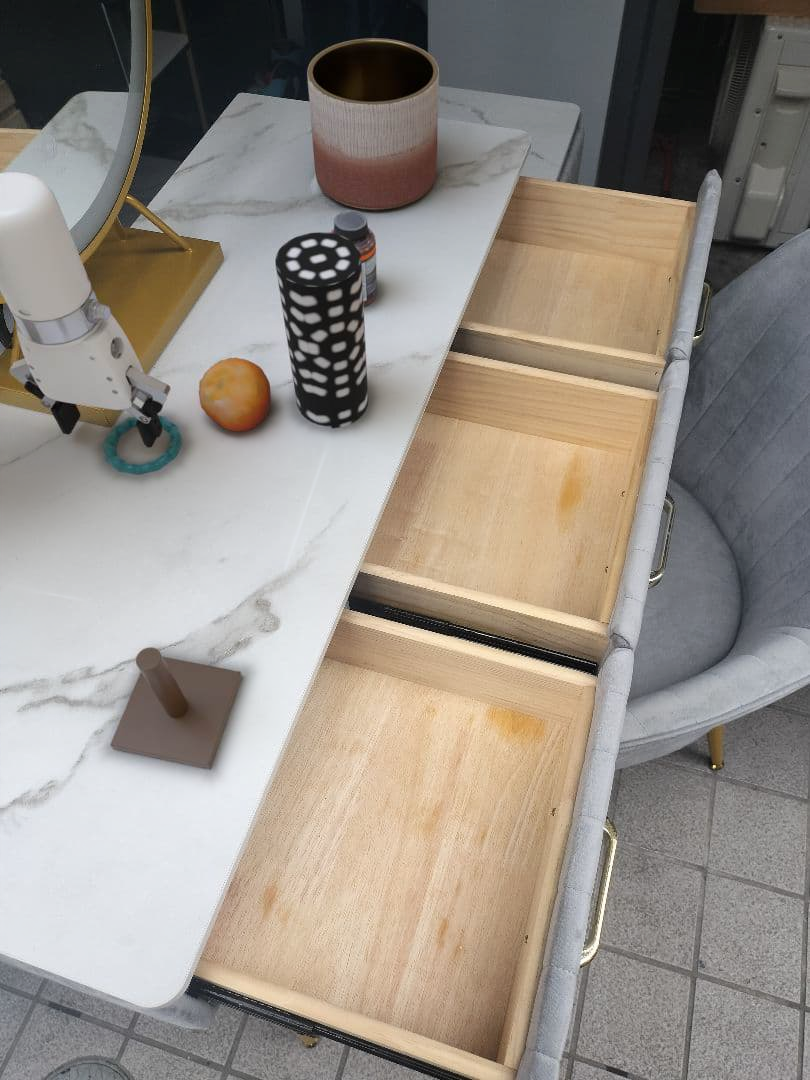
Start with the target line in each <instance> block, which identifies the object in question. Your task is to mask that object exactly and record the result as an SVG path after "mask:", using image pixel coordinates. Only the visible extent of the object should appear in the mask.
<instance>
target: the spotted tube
mask: <svg viewBox="0 0 810 1080" xmlns="http://www.w3.org/2000/svg"><path fill="white" fill-rule="evenodd" d="M274 259H275V260H274V261H275V270H276V276H277V283H278V291H279V295H280V302H281V309H282V316H283V322H284V328H285V335H286V341H287V347H288V354H289V362H290V368H291V375H292V381H293V387H294V388H293V389H294V393H295V401H296V406H297V409H298V412H299V413H300V414H301V416H303V417H304V418H305V419H306V420H307V421H309V422H310V423H313V424H315V425H317V426H323V427H331V429H338V428H343V427H346V426H349V425H351V424H354V423H355V422H357V421H358V420H359V419H360V418H362V417H363V415H364V414H365V412H366V411H367V409H368V406H369V389H368V388H369V387H368V368H367V349H366V330H365V329H366V327H365V307H364V305H363V285H362V264H361V254H360V251H359V249H358V247H357V246H356V245H355V244H354V243H353V242H352V241H350V240H349V239H347V238H345V237H343V236H340V235H337V234H333V233H330V232H322V231H320V232H319V231H317V232H310V233H309V232H308V233H304V234H300V235H297V236H295V237H293V238H291V239H289V240H288V241H287V242H285V243H283V244H282V246H281V247H280V248H278V250H277V253H276V255H275V258H274Z"/></svg>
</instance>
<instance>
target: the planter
mask: <svg viewBox="0 0 810 1080" xmlns="http://www.w3.org/2000/svg"><path fill="white" fill-rule="evenodd" d="M439 69H440V68H439V65H438V63H437V61H436V59H435V57H433V56H432V55H431V54H430V53H428V52H427V51H426V50H424V49H422V48H420V47H418V46H416V45H414V44H411V43H408V42H405V41H401V40H397V39H389V38H376V37H375V38H374V37H373V38H371V37H369V38H359V39H351V40H347V41H343V42H339V43H336V44H334V45H331V46H329V47H327V48H325V49H323V50H321V51H320V52H319V53H317V54H316V55H315V56H314V57H313V58H312V59H311V61H310V62H309V64H308V67H307V69H306V70H307V71H306V74H307V75H306V77H307V87H308V88H307V89H308V101H309V112H310V124H311V137H312V151H313V161H314V162H313V163H314V165H313V166H314V171H315V178H316V182H317V184H318V187H319V188H320V189H321V190H322V192H323V193H324V194H325V195H327V196H328V197H329V198H331V199H332V200H333V201H335V202H337V203H339V204H342V205H344V206H347V207H349V208H355V209H359V210H365V211H386V210H392V209H397V208H401V207H404V206H407V205H409V204H412V203H414V202H416V201H417V200H419V199H421V198H422V197H423V196H424V195H426V194H427V193H428V192H429V191H430V189H431V188H432V187H433V185H434V183H435V181H436V176H437V175H436V174H437V166H438V163H437V162H438V126H439V125H438V124H439V123H438V121H439V120H438V119H439V90H440V89H439V88H440V87H439V86H440V85H439V84H440V81H439V80H440V70H439Z"/></svg>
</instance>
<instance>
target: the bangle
mask: <svg viewBox="0 0 810 1080" xmlns="http://www.w3.org/2000/svg"><path fill="white" fill-rule="evenodd" d="M158 417H159V419H160V422H161V424H162V430H165V431H166V432H167V433H168V436H169V441H170V444H169V445H168V447H167V448H166V451H165V452H164V453H163V454H161V455H160V456H158V457H157V458H156V459H154V460H152V461H148V462H143V463H139V464H138V463H132V462H126V461H124V460H123V459H122V458H120V457H119V456H118V454H117V448H116V446H117V443H118V441H119V439H120V437H121V436H122V435H123V434H124V433H126V432H127V431H129V430H130V429H132V428H134V427H137V426H136V422H137V420H138V419H137V418H135V417H134V416H131V417H128V418H126V419H124V420H123V421H121V422H119V424H117V425H116V426H114V427H113V428H112V429H111V430H110V431H109V434H108V435H107V438H106V439H105V441H104V443H103V449H104V456H105V460H106V462H107V463H109V464H110V465H111V466H112V467H113V468H114V469H115V470H116V471H118V472H120V473H125V474H132V475H137V476H138V475H143V474H148V473H152V472H156V471H159V470H161V469H162V468H164V467H165V466H167V465H168V464H169V463H170V462H173V460H175V459H176V457H177V456H178V453H179V451H180V450H181V448H182V447H181V446H182V445H183V439H182V435H181V431H180V428H179V426H178V425H177V424H175V423H174V422H172V421H171V420H170V419H169V418H167V416H162V415H158Z"/></svg>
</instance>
